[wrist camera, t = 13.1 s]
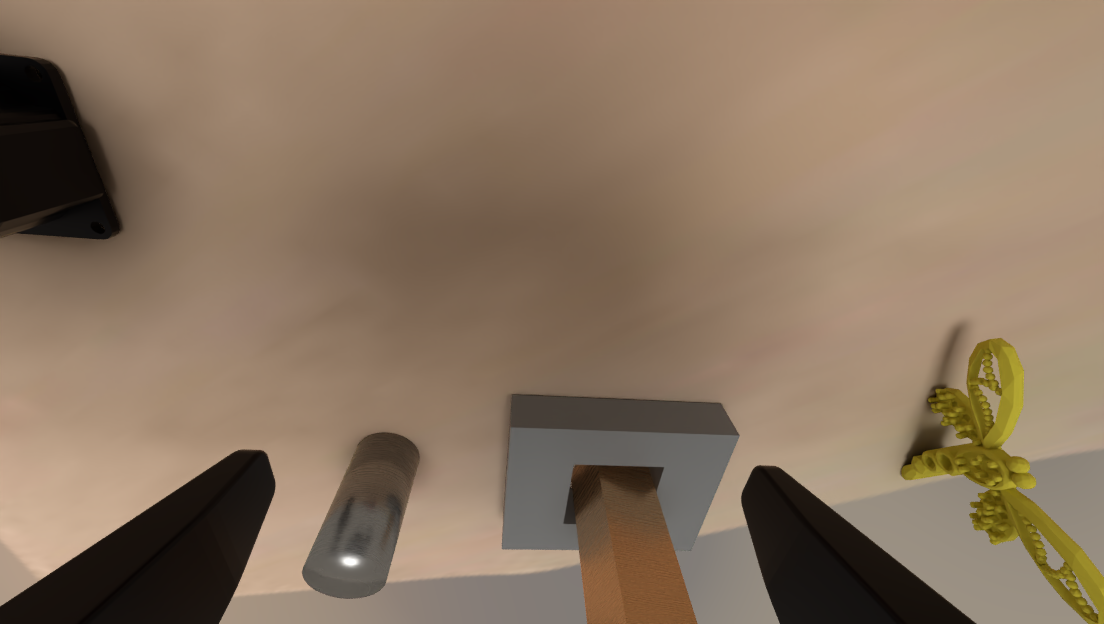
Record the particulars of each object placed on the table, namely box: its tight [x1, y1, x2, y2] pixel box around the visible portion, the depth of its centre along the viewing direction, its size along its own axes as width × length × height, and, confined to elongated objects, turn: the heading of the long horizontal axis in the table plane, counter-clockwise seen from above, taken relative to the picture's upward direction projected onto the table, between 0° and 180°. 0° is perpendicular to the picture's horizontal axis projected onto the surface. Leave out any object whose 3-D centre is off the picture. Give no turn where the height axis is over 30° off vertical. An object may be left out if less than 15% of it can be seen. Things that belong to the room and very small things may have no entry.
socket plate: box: [502, 395, 740, 551], centre depth 26 cm, size 12×10×2 cm
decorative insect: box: [901, 338, 1104, 624], centre depth 24 cm, size 13×3×10 cm
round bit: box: [302, 433, 419, 599], centre depth 22 cm, size 4×4×7 cm
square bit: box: [571, 465, 697, 624], centre depth 22 cm, size 3×3×12 cm
